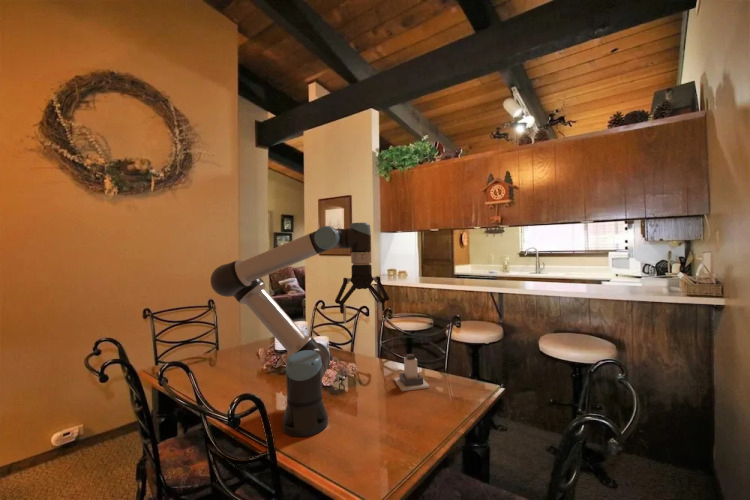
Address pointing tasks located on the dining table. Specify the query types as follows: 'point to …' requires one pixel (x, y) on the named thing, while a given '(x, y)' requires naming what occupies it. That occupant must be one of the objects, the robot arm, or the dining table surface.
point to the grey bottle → (410, 366)
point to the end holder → (411, 383)
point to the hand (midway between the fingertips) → (362, 320)
